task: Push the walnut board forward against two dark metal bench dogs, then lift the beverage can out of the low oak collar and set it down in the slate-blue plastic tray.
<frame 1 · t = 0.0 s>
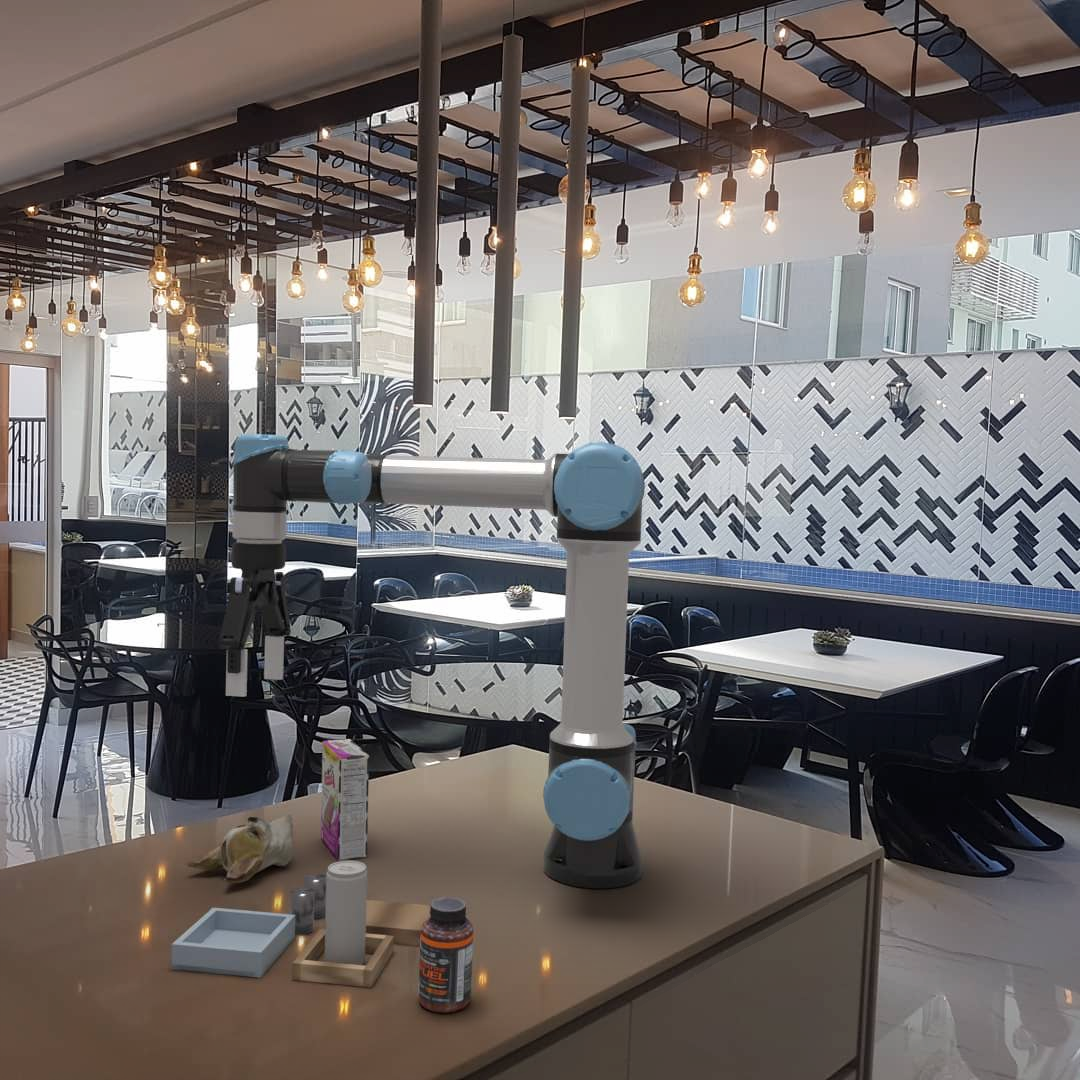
hand: (255, 687, 150), 28 cm above the counter, fingers open, 13 cm apart
candy bar box: (342, 850, 164), on the counter
bench dogs: (308, 922, 136), on the counter
tray: (235, 953, 126), on the counter
beverage can: (344, 967, 124), resting in collar
board: (393, 933, 135), on the counter
ceramic sculpture: (249, 875, 153), on the counter
collar: (344, 965, 124), on the counter
supplement bottle: (444, 1003, 116), on the counter
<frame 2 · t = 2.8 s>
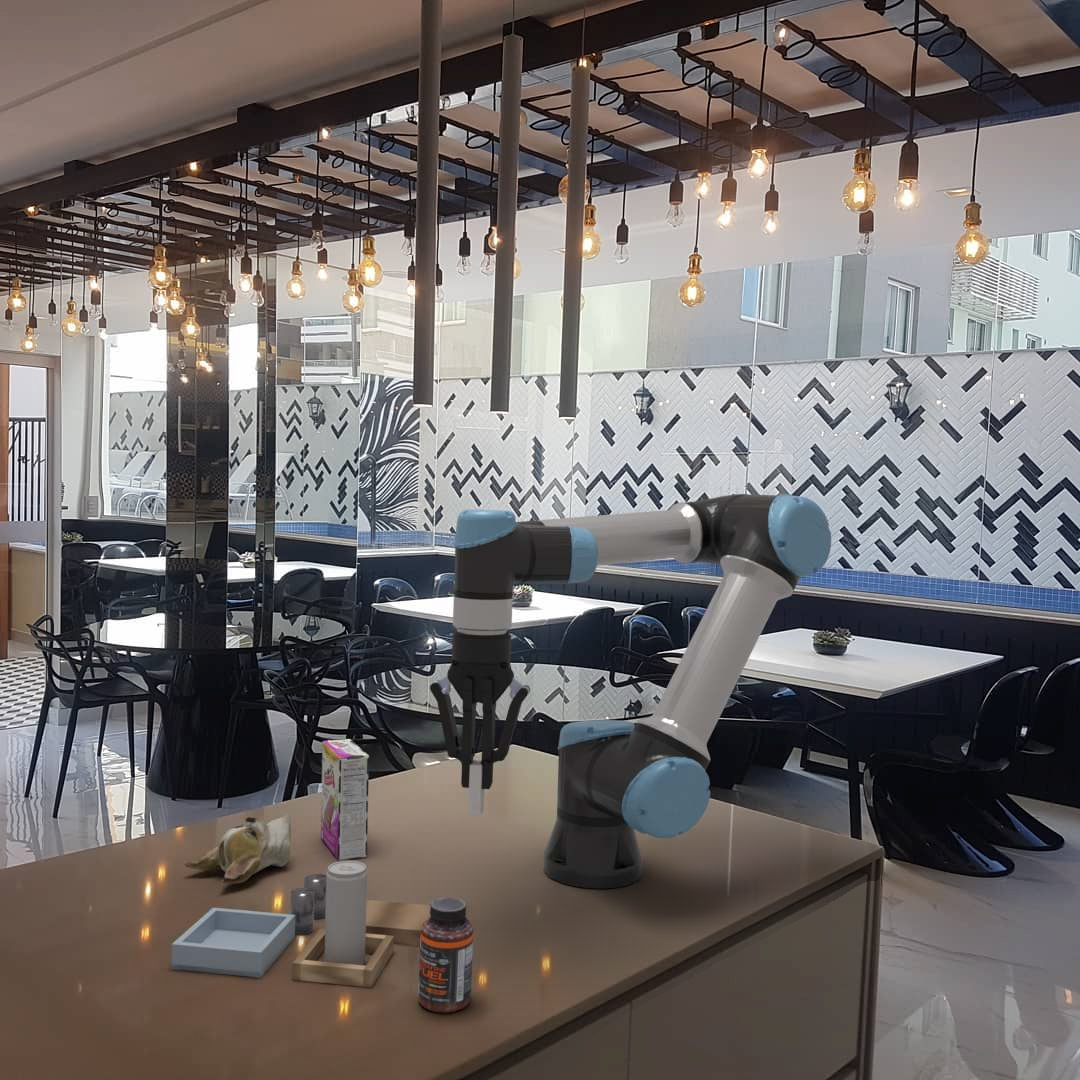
hand: (475, 812, 133), 16 cm above the counter, fingers closed
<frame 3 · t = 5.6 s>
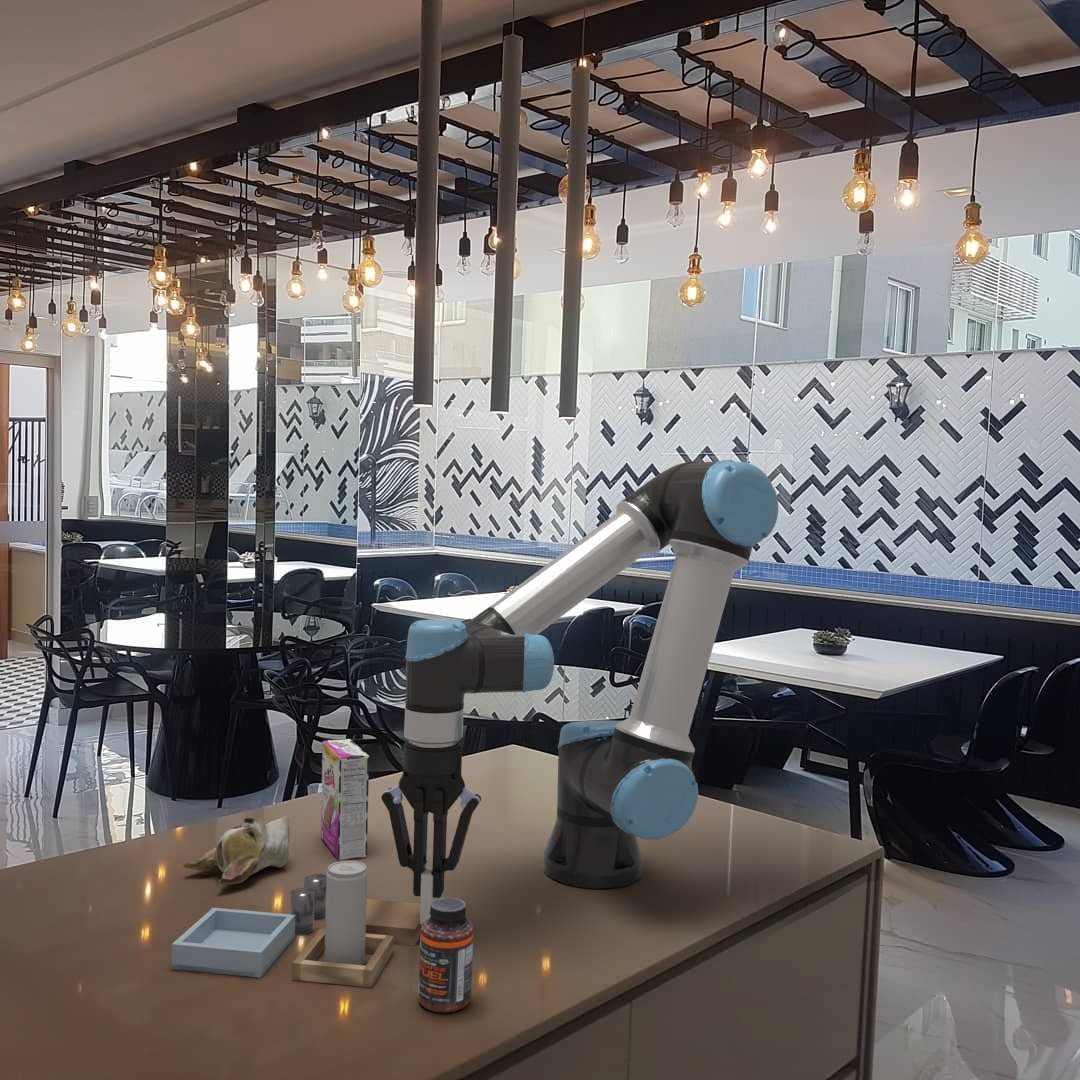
hand: (427, 920, 134), 2 cm above the counter, fingers closed
board: (384, 931, 135), on the counter, touching gripper
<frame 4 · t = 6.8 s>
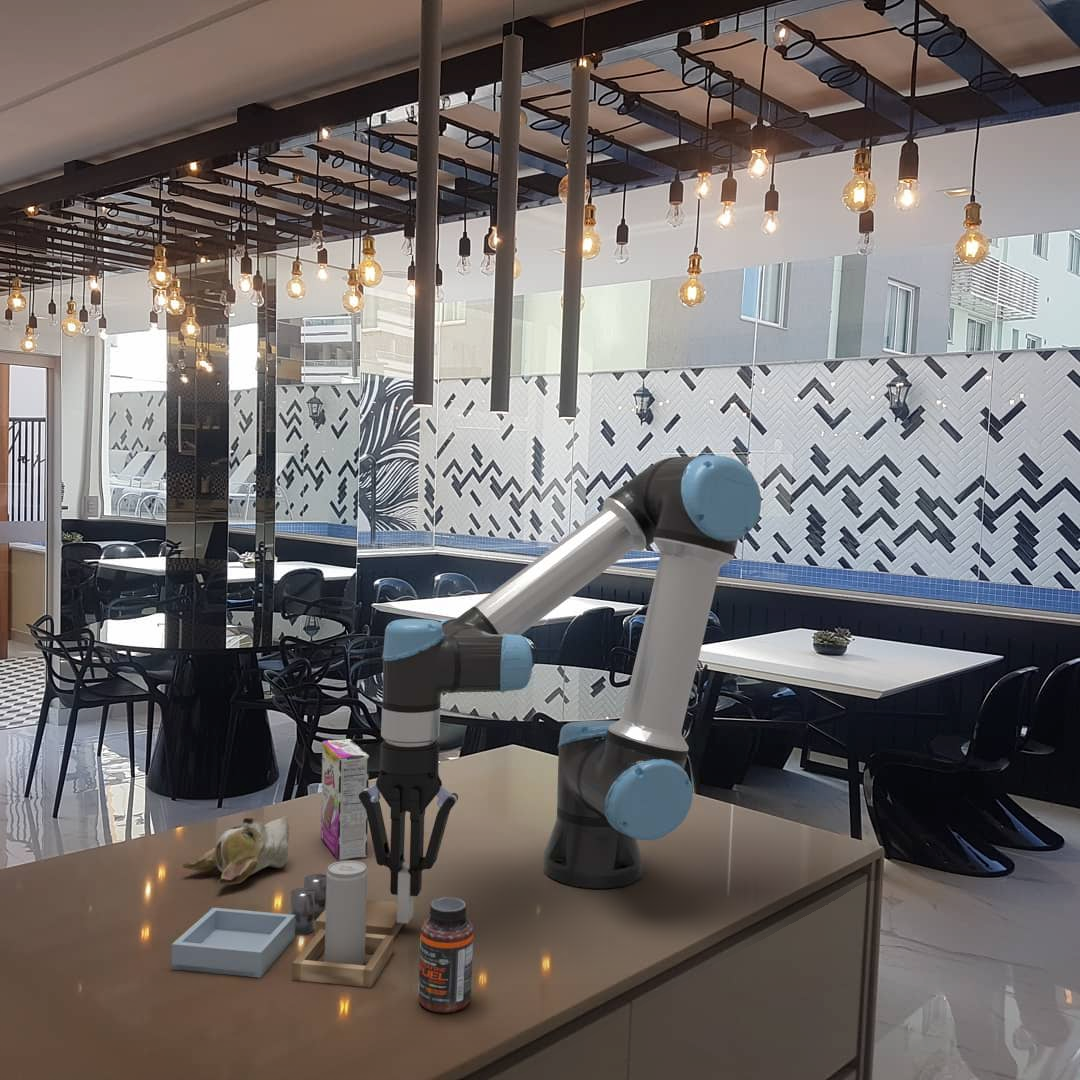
hand: (405, 918, 134), 2 cm above the counter, fingers closed
board: (362, 930, 135), on the counter
everything else where it was.
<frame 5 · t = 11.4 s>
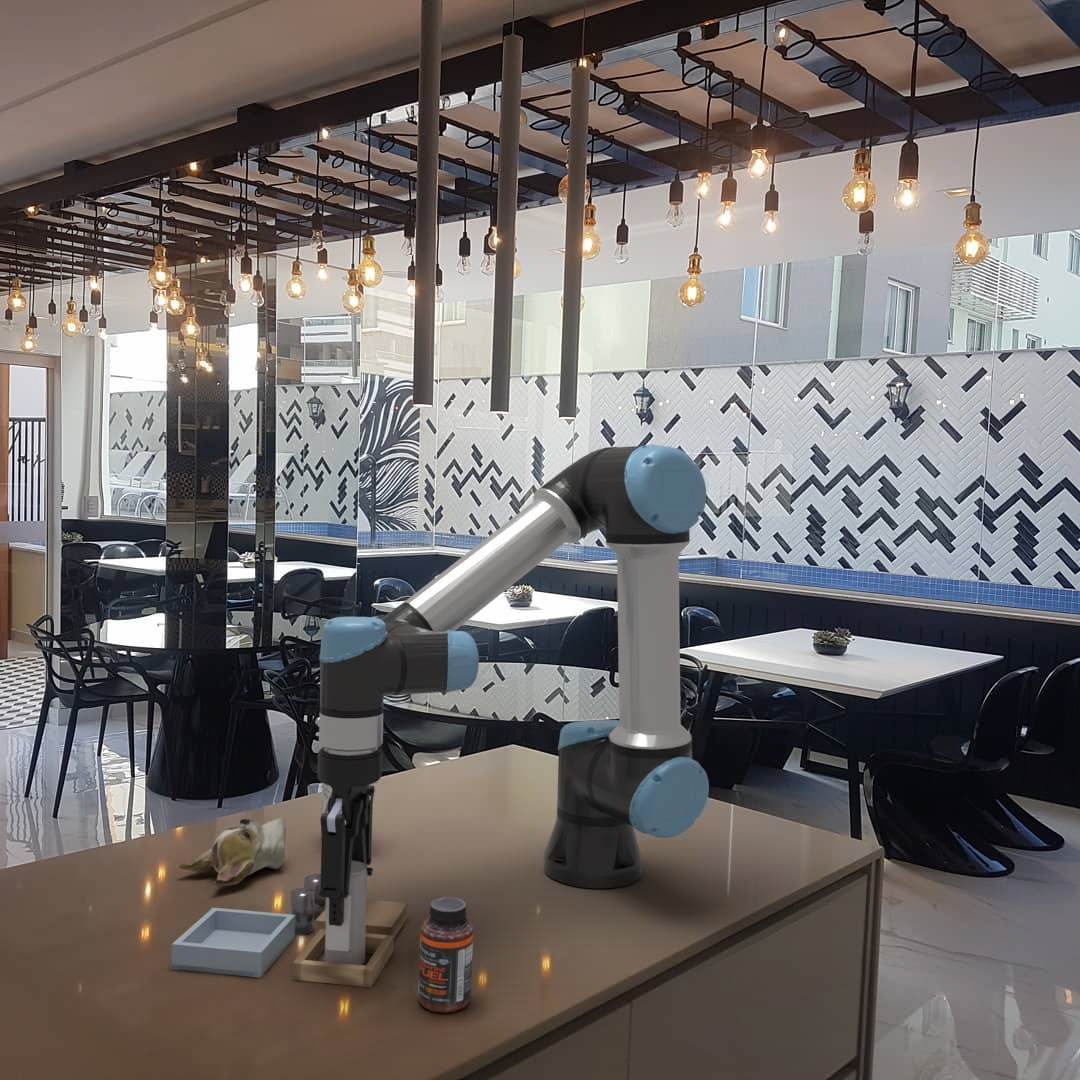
hand: (345, 938, 124), 3 cm above the counter, fingers closed on beverage can, 5 cm apart
beverage can: (344, 966, 124), resting in collar, touching gripper
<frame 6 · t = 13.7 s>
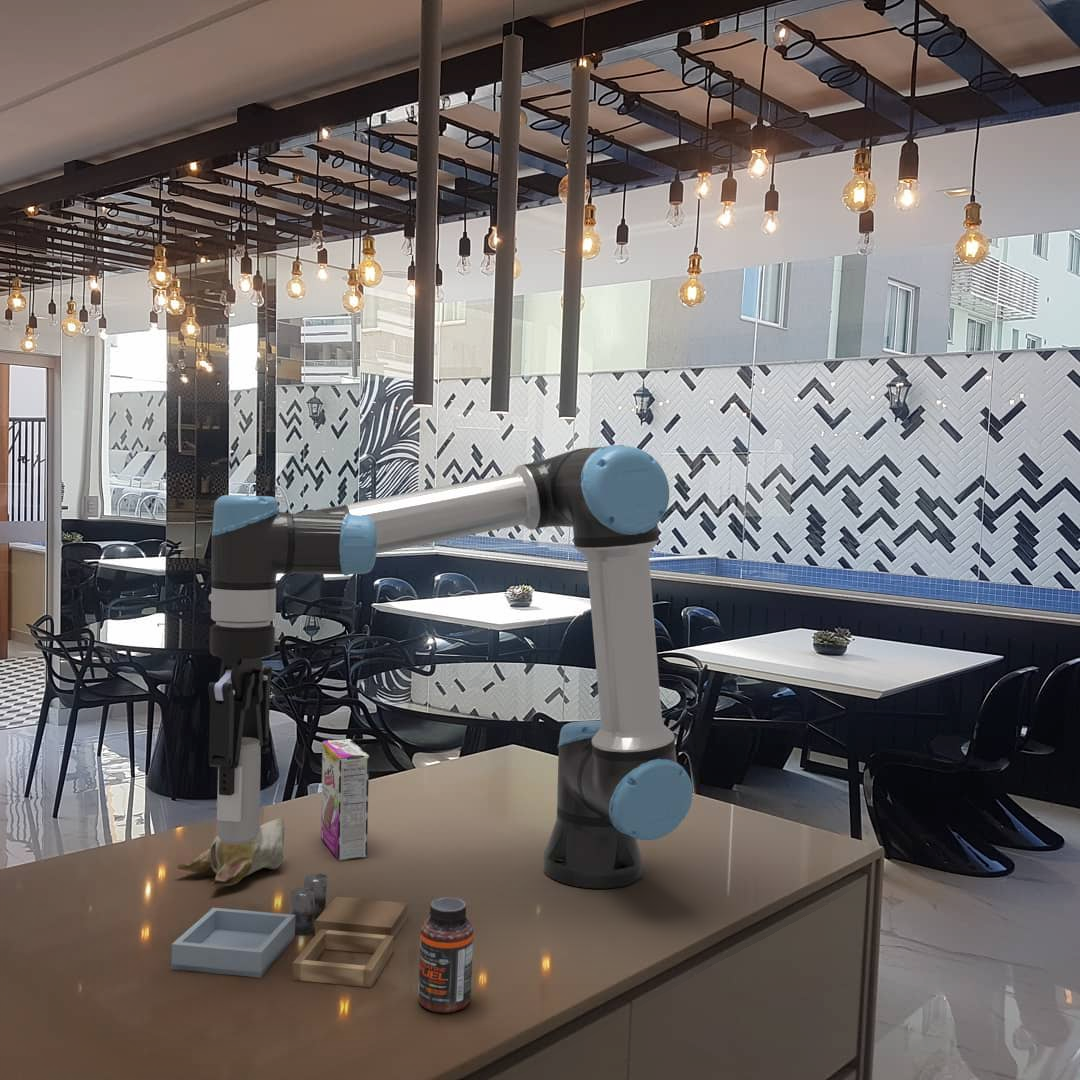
hand: (238, 812, 126), 17 cm above the counter, fingers closed on beverage can, 5 cm apart
beverage can: (237, 840, 126), point 14 cm above the counter, touching gripper
when the fingers open (5 cm above the counter, at t = 16.1 s): beverage can drops 2 cm, resting on tray.
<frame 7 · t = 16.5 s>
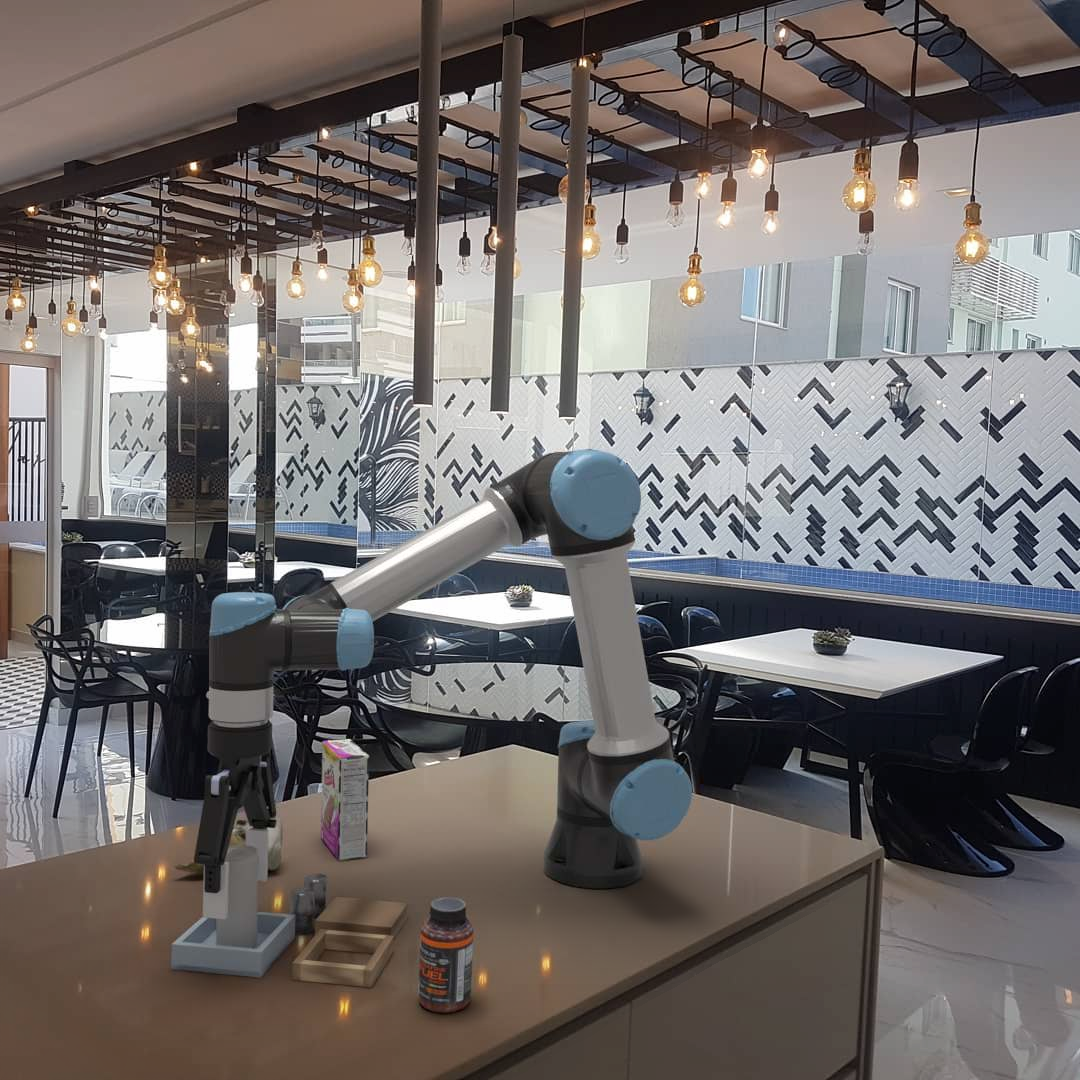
hand: (236, 897, 126), 7 cm above the counter, fingers open, 11 cm apart
beverage can: (236, 949, 127), resting on tray
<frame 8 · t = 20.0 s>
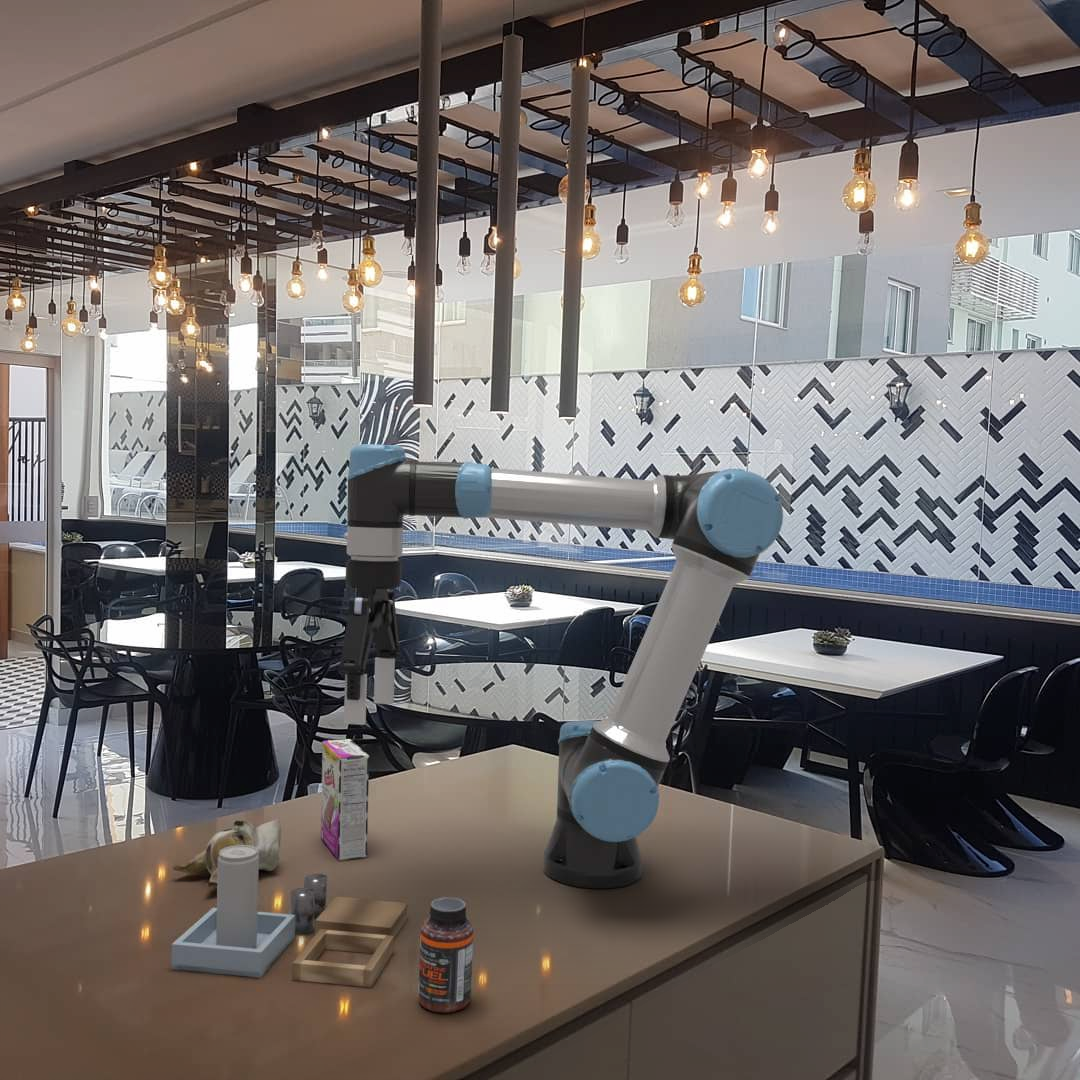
hand: (369, 713, 141), 27 cm above the counter, fingers open, 13 cm apart
at the end: board 1.1 cm from the target spot, on the counter; beverage can inside the target area on the tray (0.1 cm from its centre), point 0.4 cm above the tray's base; beverage can tilted 0° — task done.
